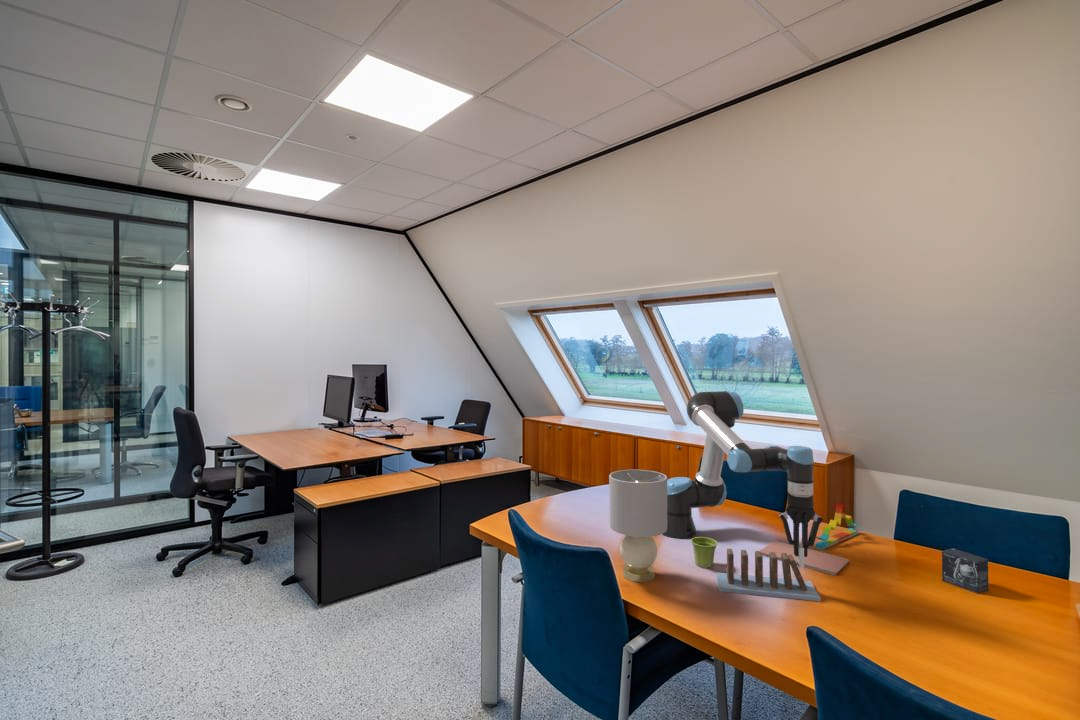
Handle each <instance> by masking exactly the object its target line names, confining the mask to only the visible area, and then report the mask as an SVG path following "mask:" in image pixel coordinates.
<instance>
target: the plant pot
mask: <svg viewBox="0 0 1080 720" xmlns="http://www.w3.org/2000/svg"><path fill="white" fill-rule="evenodd" d="M690 543H691V545H692V547H693V554H694V562H695V563H694V564H695V565H696V566H698V567H700V568H705V569H706V568H707V569H708V568H710V567H713V565H714V558H715V552H716V549H717V546H718V541H717V540H715V539H713V538H711V537H705V536H696V537H695V536H694V537H691V540H690Z"/></svg>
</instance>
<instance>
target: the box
mask: <svg viewBox="0 0 1080 720" xmlns="http://www.w3.org/2000/svg"><path fill="white" fill-rule="evenodd" d="M941 563H942V564H941V581H942V582H944V583H947V584H950V585H952V586H956V587H959V588H961V589H964V590H966V591H969V592H972V593H975V594H981V593H984V592H987V591H989V589H990V588H989V559H988V558H986V557H982V556H979V555H975V554H973V553H971V552H966V551H963V550H960V549H956V548H949V549H948V548H947V549H944V550H942V551H941Z"/></svg>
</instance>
